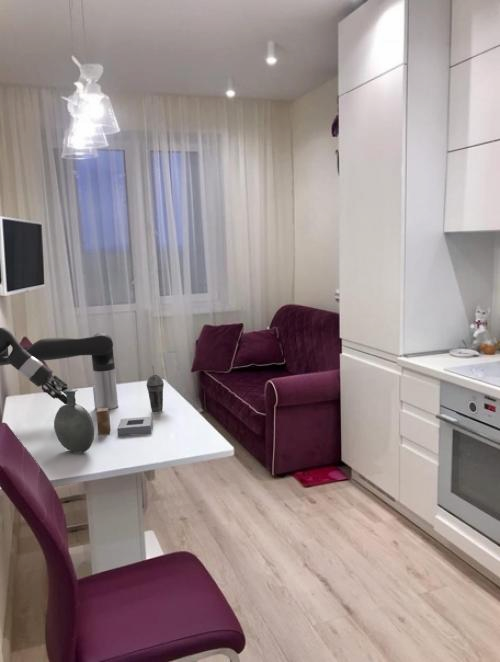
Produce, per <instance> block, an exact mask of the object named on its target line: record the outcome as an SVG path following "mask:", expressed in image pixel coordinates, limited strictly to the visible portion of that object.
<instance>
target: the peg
mask: <svg viewBox="0 0 500 662" xmlns="http://www.w3.org/2000/svg"><path fill="white" fill-rule="evenodd" d="M95 415H96V425H97V435H98V436H103V435H110V433H111V420H110V409H109V408H99V409H97V408H96V411H95Z"/></svg>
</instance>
